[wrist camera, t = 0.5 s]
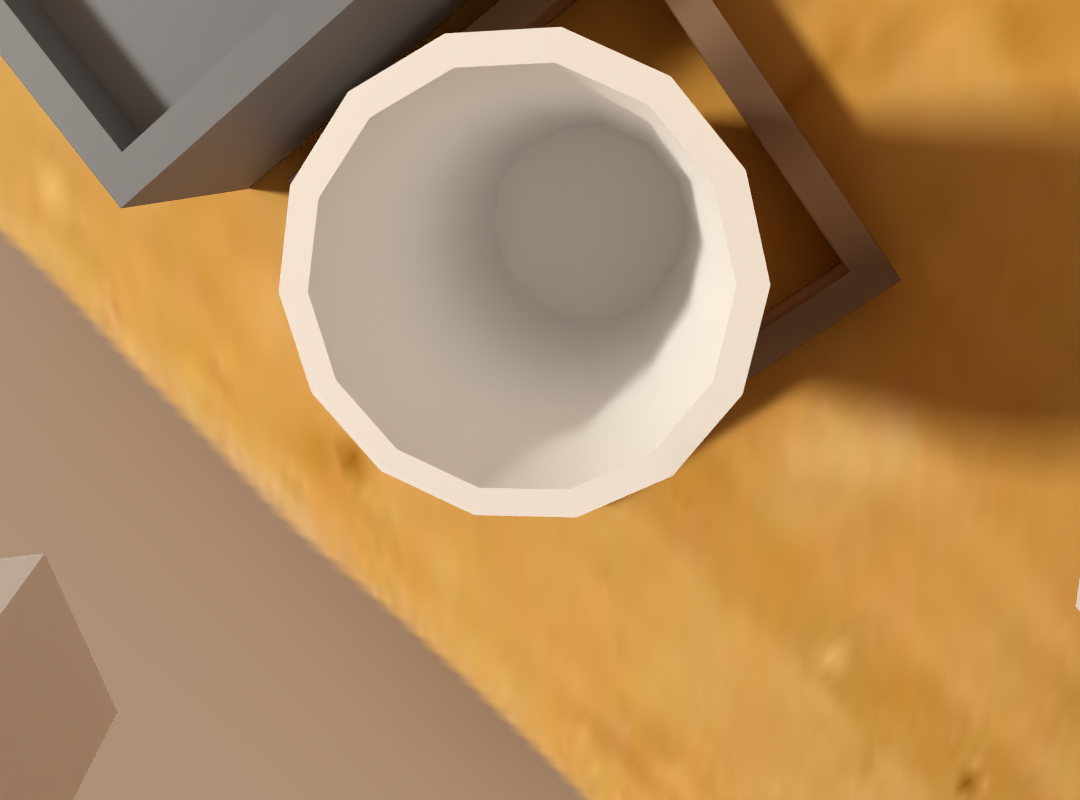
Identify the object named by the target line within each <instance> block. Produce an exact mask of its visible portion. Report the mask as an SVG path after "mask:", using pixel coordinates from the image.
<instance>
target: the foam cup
mask: <svg viewBox="0 0 1080 800" xmlns="http://www.w3.org/2000/svg"><path fill="white" fill-rule="evenodd" d="M769 289H770V281H769V276H768V271H767V267H766V262H765V257H764V253H763V248H762V243H761V239H760V234H759V229H758V225H757V220H756V215H755V211H754V206H753V201H752V197H751V192H750V187H749V183H748V178H747V173H746V170H745V168H744V167H743V166H742V164H741V163H740V162H739V161H738V159H737V158H736V157H735V156H734V154H733V153H732V152H731V151H730V149H729V148H728V147H727V146H726V144H725V143H724V142H723V141H722V139H721V138H720V137H719V136H718V134H717V133H716V132H715V131H714V129H713V128H712V127H711V126H710V124H709V123H708V122H707V121H706V119H705V118H704V117H703V116H702V114H701V113H700V112H699V111H698V109H697V108H696V107H695V106H694V104H693V103H692V102H691V101H690V99H689V98H688V97H687V96H686V94H685V93H684V92H683V91H682V89H681V88H680V87H679V86H678V84H677V83H676V82H675V81H674V80H673V78H672V77H671V76H669V75H667V74H665V73H662V72H660V71H658V70H656V69H654V68H651V67H649V66H647V65H645V64H642V63H640V62H638V61H636V60H634V59H631V58H629V57H627V56H625V55H623V54H620V53H618V52H616V51H614V50H611V49H609V48H607V47H605V46H603V45H600V44H598V43H596V42H594V41H592V40H589V39H587V38H585V37H583V36H581V35H578V34H576V33H574V32H572V31H569V30H567V29H565V28H563V27H549V28H532V29H514V30H497V31H480V32H462V33H445V34H443V35H441V36H440V37H438V38H436V39H435V40H433V41H431V42H430V43H428V44H426V45H425V46H423V47H422V48H420V49H418V50H417V51H415V52H413V53H412V54H410V55H408V56H407V57H405V58H403V59H402V60H400V61H398V62H397V63H395V64H393V65H392V66H390V67H388V68H387V69H385V70H383V71H382V72H380V73H378V74H377V75H375V76H373V77H372V78H370V79H368V80H367V81H365V82H363V83H362V84H360V85H358V86H357V87H355V88H354V89H352V90H350V91H349V92H348V93H347V94H346V96H345V98H344V99H343V101H342V102H341V104H340V106H339V107H338V109H337V110H336V112H335V114H334V115H333V117H332V118H331V120H330V122H329V123H328V125H327V127H326V128H325V130H324V131H323V133H322V135H321V136H320V138H319V139H318V141H317V143H316V144H315V146H314V147H313V149H312V151H311V152H310V154H309V156H308V157H307V159H306V160H305V162H304V164H303V165H302V167H301V168H300V170H299V172H298V173H297V175H296V177H295V178H294V180H293V181H292V183H291V185H290V191H289V201H288V210H287V219H286V229H285V238H284V247H283V257H282V266H281V275H280V285H279V295H280V298H281V301H282V304H283V307H284V310H285V313H286V316H287V319H288V322H289V325H290V328H291V331H292V334H293V337H294V340H295V343H296V346H297V349H298V353H299V356H300V359H301V362H302V365H303V368H304V371H305V374H306V377H307V380H308V383H309V386H310V389H311V392H312V394H313V395H314V396H315V397H316V398H317V399H318V400H319V402H320V403H321V404H322V405H323V406H324V407H325V408H326V410H327V411H328V412H329V413H330V414H331V415H332V416H333V417H334V419H335V420H336V421H337V422H338V423H339V424H340V425H341V426H342V428H343V429H344V430H345V431H346V432H347V433H348V434H349V436H350V437H351V438H352V439H353V440H354V441H355V442H356V443H357V445H358V446H359V447H360V448H361V449H362V450H363V451H364V452H365V454H366V455H367V456H368V457H369V458H370V459H371V460H372V461H373V463H374V464H375V465H376V466H377V467H378V468H379V469H380V471H382V472H384V473H386V474H388V475H391V476H393V477H395V478H397V479H399V480H401V481H403V482H405V483H408V484H410V485H412V486H414V487H416V488H418V489H420V490H422V491H425V492H427V493H429V494H431V495H433V496H435V497H437V498H439V499H441V500H444V501H446V502H448V503H450V504H452V505H454V506H456V507H458V508H461V509H463V510H465V511H467V512H469V513H471V514H473V515H500V516H542V517H579V516H581V515H584V514H586V513H588V512H590V511H593V510H595V509H597V508H600V507H602V506H604V505H607V504H609V503H611V502H613V501H616V500H618V499H620V498H623V497H625V496H627V495H629V494H632V493H634V492H636V491H639V490H641V489H643V488H646V487H648V486H650V485H652V484H655V483H657V482H659V481H662V480H664V479H666V478H669V477H671V476H673V475H674V473H675V472H676V471H677V470H678V469H679V468H680V466H681V465H682V464H683V463H684V462H685V461H686V460H687V458H688V457H689V456H690V455H691V454H692V453H693V451H694V450H695V449H696V448H697V447H698V446H699V444H700V443H701V442H702V441H703V440H704V439H705V437H706V436H707V435H708V434H709V433H710V432H711V430H712V429H713V428H714V427H715V426H716V425H717V423H718V422H719V421H720V420H721V419H722V418H723V416H724V415H725V414H726V413H727V412H728V411H729V409H730V408H731V407H732V406H733V405H734V404H735V402H736V401H737V400H738V399H739V398H740V397H741V395H742V394H743V391H744V387H745V383H746V379H747V375H748V371H749V367H750V363H751V359H752V356H753V352H754V348H755V344H756V340H757V336H758V332H759V328H760V324H761V320H762V316H763V313H764V309H765V305H766V301H767V297H768V293H769Z"/></svg>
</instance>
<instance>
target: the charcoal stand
mask: <svg viewBox="0 0 1080 800" xmlns="http://www.w3.org/2000/svg"><path fill="white" fill-rule="evenodd" d="M468 1H469V0H0V55H1V56H2V58H3V59H4V60H5V62H6V63H7V64H8V65H9V67H10V68H11V69H12V70H13V72H14V73H15V74H16V76H17V77H18V78H19V79H20V81H21V82H22V83H23V84H24V86H25V87H26V88H27V90H28V91H29V92H30V93H31V95H32V96H33V97H34V98H35V100H36V101H37V102H38V104H39V105H40V106H41V107H42V109H43V110H44V111H45V112H46V114H47V115H48V116H49V118H50V119H51V120H52V121H53V123H54V124H55V125H56V126H57V128H58V129H59V130H60V132H61V133H62V134H63V135H64V137H65V138H66V139H67V140H68V142H69V143H70V144H71V145H72V147H73V148H74V149H75V151H76V152H77V153H78V154H79V156H80V157H81V158H82V159H83V161H84V162H85V163H86V165H87V166H88V167H89V168H90V170H91V171H92V172H93V173H94V175H95V176H96V177H97V179H98V180H99V181H100V182H101V184H102V185H103V186H104V187H105V189H106V190H107V191H108V193H109V194H110V195H111V196H112V198H113V199H114V200H115V201H116V203H117V204H118V205H119V207H120V208H126V207H132V206H139V205H145V204H152V203H159V202H165V201H172V200H178V199H185V198H191V197H198V196H204V195H211V194H218V193H224V192H231V191H237V190H244V189H249V188H250V187H251V186H252V185H253V184H254V183H256V182H257V181H258V180H259V179H260V178H261V177H263V176H264V175H265V174H266V173H267V172H269V171H270V170H271V169H272V168H273V167H274V166H276V165H277V164H278V163H279V162H280V161H281V160H283V159H284V158H285V157H286V156H287V155H288V154H290V153H291V152H292V151H293V150H294V149H295V148H297V147H298V146H299V145H300V144H301V143H302V142H304V141H305V140H306V139H307V138H308V137H309V136H311V135H312V134H313V133H314V132H315V131H317V130H318V129H319V128H320V127H321V126H322V125H324V124H325V123H326V122H327V121H328V120H329V119H331V118H332V117H333V115H334V114H335V112H336V110H337V109H338V107H339V106H340V104H341V102H342V101H343V99H344V98H345V96H346V94H347V93H348V92H349V91H350V90H352V89H354V88H355V87H357V86H358V85H360V84H362V83H363V82H365V81H367V80H368V79H370V78H372V77H373V76H375V75H377V74H378V73H380V72H382V71H383V70H385V69H387V68H388V67H390V66H392V65H393V64H395V63H396V62H397V61H398V60H400V59H401V58H402V57H403V56H404V55H406V54H407V53H408V52H409V51H410V50H411V49H413V48H414V47H415V46H416V45H417V44H418V43H420V42H421V41H422V40H423V39H424V38H425V37H427V36H428V35H429V34H430V33H431V32H432V31H434V30H435V29H436V28H437V27H438V26H439V25H441V24H442V23H443V22H444V21H445V20H446V19H448V18H449V17H450V16H451V15H452V14H454V13H455V12H456V11H457V10H458V9H459V8H461V7H462V6H463V5H464V4H465V3H466V2H468Z"/></svg>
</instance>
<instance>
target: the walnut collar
mask: <svg viewBox="0 0 1080 800" xmlns="http://www.w3.org/2000/svg"><path fill="white" fill-rule="evenodd" d="M575 1H576V0H500V1H499V2H498V3H496V4H495V5H494V6H493V7H492V8H490V9H489V10H488V11H487V12H486V13H484V14H483V15H482V16H481V17H480V18H479V19H477V20H476V21H475V22H474V23H473V24H471V25H470V26H469V27H468V28H467V29H466V30H464V31H463V32H480V31H497V30H514V29H532V28H543V27H544V26H546V25H547V24H548V23H549V22H551V21H552V20H553V19H554V18H555V17H557V16H558V15H559V14H560V13H561V12H563V11H564V10H565V9H566V8H568V7H569V6H570V5H571V4H572V3H574V2H575ZM663 1H664V3H665V4H666V6H667V7H668V9H669V10H670V12H671V13H672V15H673V16H674V17H675V19H676V20H677V22H678V23H679V25H680V26H681V28H682V29H683V31H684V32H685V34H686V35H687V37H688V38H689V39H690V41H691V42H692V44H693V45H694V47H695V48H696V50H697V51H698V53H699V54H700V56H701V57H702V58H703V60H704V61H705V63H706V64H707V66H708V67H709V69H710V70H711V72H712V73H713V75H714V76H715V78H716V79H717V80H718V82H719V83H720V85H721V86H722V88H723V89H724V91H725V92H726V94H727V95H728V97H729V98H730V100H731V101H732V102H733V104H734V105H735V107H736V108H737V110H738V111H739V113H740V114H741V116H742V117H743V119H744V120H745V121H746V123H747V124H748V126H749V127H750V129H751V130H752V132H753V133H754V135H755V136H756V138H757V139H758V141H759V142H760V143H761V145H762V146H763V148H764V149H765V151H766V152H767V154H768V155H769V157H770V158H771V160H772V161H773V163H774V164H775V165H776V167H777V168H778V170H779V171H780V173H781V174H782V176H783V177H784V179H785V180H786V182H787V183H788V184H789V186H790V187H791V189H792V190H793V192H794V193H795V195H796V196H797V198H798V199H799V201H800V202H801V204H802V205H803V206H804V208H805V209H806V211H807V212H808V214H809V215H810V217H811V218H812V220H813V221H814V223H815V224H816V225H817V227H818V228H819V230H820V231H821V233H822V234H823V236H824V237H825V239H826V240H827V242H828V243H829V245H830V246H831V247H832V249H833V250H834V252H835V253H836V255H837V256H838V258H839V259H840V261H841V263H840V264H838V265H837V266H835V267H834V268H832V269H831V270H829V271H828V272H826V273H825V274H823V275H822V276H820V277H819V278H817V279H816V280H814V281H813V282H811V283H810V284H808V285H807V286H805V287H804V288H802V289H801V290H799V291H798V292H796V293H795V294H793V295H792V296H790V297H789V298H787V299H786V300H784V301H783V302H781V303H780V304H778V305H777V306H775V307H774V308H772V309H771V310H769V311H768V312H766V313H765V314H763V316H762V320H761V324H760V328H759V332H758V336H757V340H756V344H755V348H754V352H753V356H752V359H751V363H750V367H749V371H748V375H747V379H749V378H751V377H752V376H754V375H755V374H757V373H758V372H760V371H761V370H763V369H764V368H766V367H768V366H769V365H771V364H772V363H774V362H775V361H777V360H778V359H780V358H781V357H783V356H785V355H786V354H788V353H789V352H791V351H792V350H794V349H795V348H797V347H798V346H800V345H802V344H803V343H805V342H806V341H808V340H809V339H811V338H812V337H814V336H815V335H817V334H819V333H820V332H822V331H823V330H825V329H826V328H828V327H829V326H831V325H832V324H834V323H836V322H837V321H839V320H840V319H842V318H843V317H845V316H846V315H848V314H849V313H851V312H853V311H854V310H856V309H857V308H859V307H860V306H862V305H863V304H865V303H866V302H868V301H870V300H871V299H873V298H874V297H876V296H877V295H879V294H880V293H882V292H883V291H885V290H887V289H888V288H890V287H891V286H893V285H894V284H896V283H897V282H899V281H900V280H901V279H900V278H899V276H898V275H897V273H896V272H895V270H894V269H893V267H892V266H891V264H890V263H889V261H888V260H887V259H886V257H885V256H884V254H883V253H882V251H881V250H880V248H879V247H878V245H877V244H876V242H875V241H874V239H873V238H872V236H871V235H870V233H869V232H868V230H867V229H866V227H865V226H864V224H863V223H862V221H861V220H860V219H859V217H858V216H857V214H856V213H855V211H854V210H853V208H852V207H851V205H850V204H849V202H848V201H847V199H846V198H845V196H844V195H843V193H842V192H841V190H840V189H839V187H838V186H837V184H836V183H835V182H834V180H833V179H832V177H831V176H830V174H829V173H828V171H827V170H826V168H825V167H824V165H823V164H822V162H821V161H820V159H819V158H818V156H817V155H816V153H815V152H814V150H813V149H812V147H811V146H810V145H809V143H808V142H807V140H806V139H805V137H804V136H803V134H802V133H801V131H800V130H799V128H798V127H797V125H796V124H795V122H794V121H793V119H792V118H791V116H790V115H789V113H788V112H787V110H786V109H785V107H784V106H783V105H782V103H781V102H780V100H779V99H778V97H777V96H776V94H775V93H774V91H773V90H772V88H771V87H770V85H769V84H768V82H767V81H766V79H765V78H764V76H763V75H762V73H761V72H760V70H759V69H758V68H757V66H756V65H755V63H754V62H753V60H752V59H751V57H750V56H749V54H748V53H747V51H746V50H745V48H744V47H743V45H742V44H741V42H740V41H739V39H738V38H737V36H736V35H735V33H734V32H733V30H732V29H731V28H730V26H729V25H728V23H727V22H726V20H725V19H724V17H723V16H722V14H721V13H720V11H719V10H718V8H717V7H716V5H715V4H714V2H713V1H712V0H663ZM298 172H299V171H297V172H296V173H295V174H294V175H293V176H291V177H290V178H289V179H288V180H287V182H288V183H289V184H290V185H291V183H292V181H293V180H294V178H295V177H296V175H297V173H298ZM747 379H746V380H747Z"/></svg>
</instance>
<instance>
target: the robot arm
mask: <svg viewBox="0 0 1080 800" xmlns="http://www.w3.org/2000/svg"><path fill="white" fill-rule="evenodd" d="M1076 607H1077V609H1078V610H1079V611H1080V580H1079V587H1078V595H1077V602H1076ZM116 713H117V710H116V708H115V706H114V704H113V702H112V699H111V697H110V695H109V693H108V691H107V688H106V686H105V684H104V682H103V680H102V678H101V675H100V673H99V671H98V669H97V666H96V664H95V663H94V660H93V658H92V656H91V653H90V651H89V649H88V647H87V645H86V642H85V640H84V638H83V636H82V634H81V632H80V629H79V627H78V625H77V623H76V621H75V619H74V616H73V614H72V612H71V610H70V608H69V606H68V603H67V601H66V599H65V597H64V594H63V592H62V590H61V588H60V586H59V584H58V581H57V579H56V577H55V575H54V573H53V570H52V568H51V566H50V564H49V562H48V559H47V557H46V555H45V553H43V554H35V555H26V556H18V557H10V558H2V559H0V800H73V799H74V797H75V795H76V793H77V791H78V789H79V787H80V785H81V783H82V781H83V779H84V777H85V775H86V773H87V771H88V769H89V767H90V765H91V763H92V761H93V759H94V757H95V755H96V753H97V751H98V749H99V747H100V745H101V743H102V741H103V739H104V737H105V735H106V733H107V731H108V729H109V727H110V725H111V723H112V721H113V719H114V717H115V715H116Z"/></svg>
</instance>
